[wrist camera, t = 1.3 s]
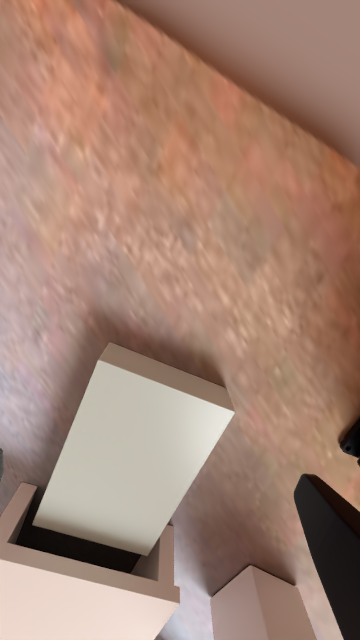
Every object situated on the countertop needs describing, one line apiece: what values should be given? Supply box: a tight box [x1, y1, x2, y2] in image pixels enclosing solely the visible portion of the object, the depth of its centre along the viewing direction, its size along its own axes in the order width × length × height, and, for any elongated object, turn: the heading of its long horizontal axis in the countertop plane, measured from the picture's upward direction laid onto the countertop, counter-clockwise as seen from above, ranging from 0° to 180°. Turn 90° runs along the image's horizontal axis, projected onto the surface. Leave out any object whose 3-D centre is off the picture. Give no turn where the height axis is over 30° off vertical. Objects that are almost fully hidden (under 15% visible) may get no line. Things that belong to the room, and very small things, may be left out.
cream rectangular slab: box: [32, 342, 235, 556], centre depth 21 cm, size 16×10×3 cm, turn 155°
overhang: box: [0, 482, 180, 640], centre depth 23 cm, size 11×16×6 cm
